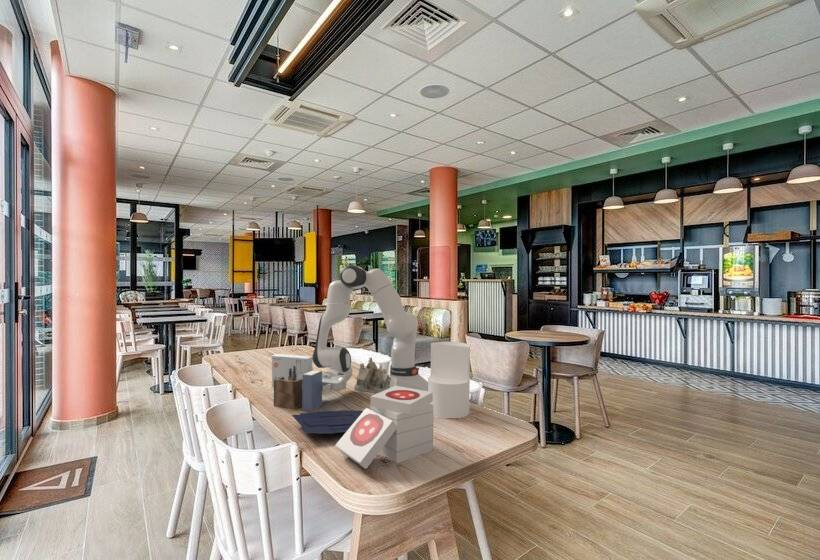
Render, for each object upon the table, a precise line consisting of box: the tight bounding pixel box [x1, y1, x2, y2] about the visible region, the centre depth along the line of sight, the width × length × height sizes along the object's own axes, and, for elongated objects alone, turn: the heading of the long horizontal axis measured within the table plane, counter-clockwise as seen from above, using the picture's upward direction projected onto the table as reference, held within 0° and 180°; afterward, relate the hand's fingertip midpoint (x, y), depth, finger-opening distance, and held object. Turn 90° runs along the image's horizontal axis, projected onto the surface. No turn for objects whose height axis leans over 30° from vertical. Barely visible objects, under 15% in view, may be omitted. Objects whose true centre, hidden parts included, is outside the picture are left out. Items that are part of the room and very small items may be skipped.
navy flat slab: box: [291, 409, 364, 435], centre depth 152 cm, size 24×30×4 cm
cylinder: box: [427, 341, 471, 419], centre depth 169 cm, size 17×17×28 cm
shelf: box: [273, 377, 302, 410], centre depth 179 cm, size 11×12×12 cm
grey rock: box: [353, 357, 391, 393], centre depth 203 cm, size 16×16×15 cm
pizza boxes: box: [334, 386, 434, 470], centre depth 130 cm, size 19×30×18 cm, turn 128°
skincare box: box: [271, 353, 314, 387], centre depth 205 cm, size 21×5×16 cm, turn 73°
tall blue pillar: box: [301, 369, 323, 412], centre depth 173 cm, size 4×8×15 cm, turn 160°
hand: (312, 387), depth 173 cm, fingers open, 8 cm apart
